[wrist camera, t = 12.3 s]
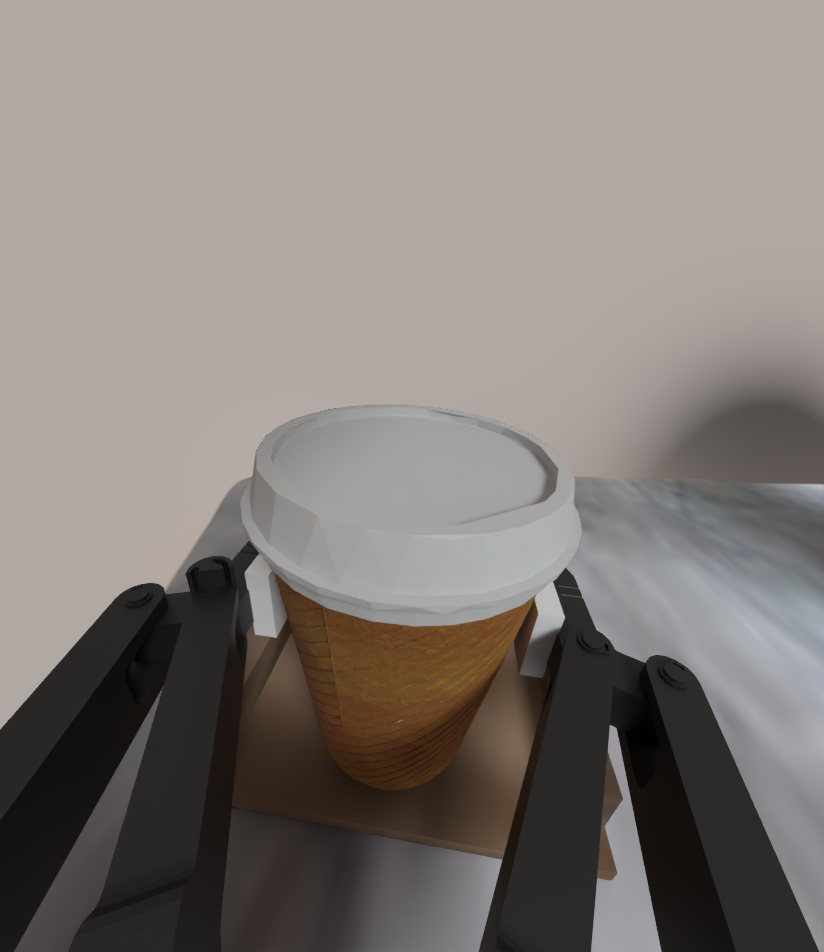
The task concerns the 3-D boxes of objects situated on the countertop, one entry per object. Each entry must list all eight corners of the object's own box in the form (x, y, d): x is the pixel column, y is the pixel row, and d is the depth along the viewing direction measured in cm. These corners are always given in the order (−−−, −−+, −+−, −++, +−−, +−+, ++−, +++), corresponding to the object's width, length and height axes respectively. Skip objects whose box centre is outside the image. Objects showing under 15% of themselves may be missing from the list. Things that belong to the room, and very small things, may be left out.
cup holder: (611, 880, 12) (638, 847, 11) (181, 796, 13) (165, 759, 12) (531, 572, 26) (539, 543, 25) (322, 544, 27) (321, 514, 26)
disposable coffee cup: (234, 847, 11) (131, 534, 6) (312, 610, 20) (298, 393, 14) (534, 860, 12) (693, 571, 6) (484, 620, 20) (533, 411, 15)
